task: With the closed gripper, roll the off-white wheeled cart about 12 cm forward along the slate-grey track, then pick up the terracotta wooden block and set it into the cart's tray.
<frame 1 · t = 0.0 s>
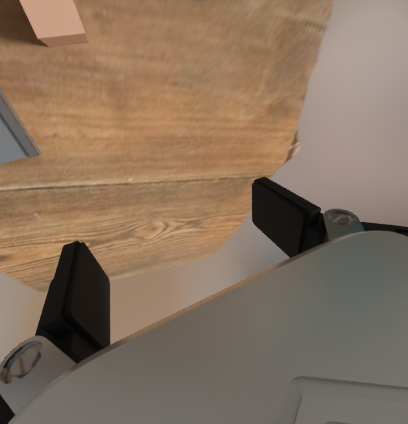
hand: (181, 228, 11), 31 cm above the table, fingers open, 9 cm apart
block: (59, 20, 26), on the table
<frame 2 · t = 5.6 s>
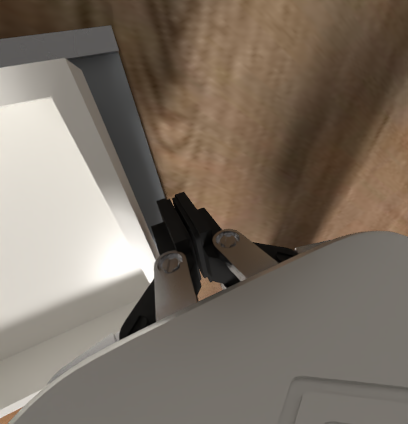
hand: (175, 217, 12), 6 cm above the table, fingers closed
cart: (4, 264, 11), point 5 cm above the table, slide at 0.8 cm, touching gripper
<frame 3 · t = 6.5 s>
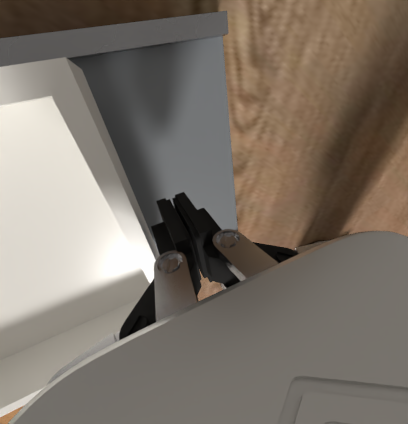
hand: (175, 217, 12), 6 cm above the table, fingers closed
cart: (4, 264, 11), point 5 cm above the table, slide at 7.4 cm, touching gripper
track: (36, 219, 15), on the table
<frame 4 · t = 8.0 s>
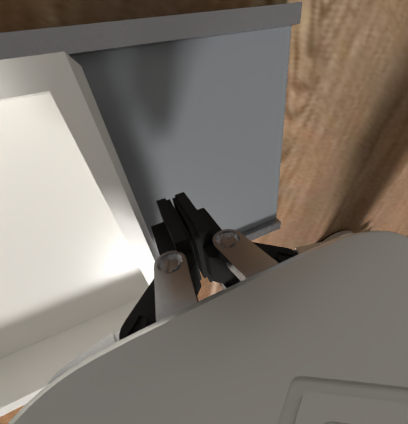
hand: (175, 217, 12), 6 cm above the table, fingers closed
track: (107, 195, 16), on the table
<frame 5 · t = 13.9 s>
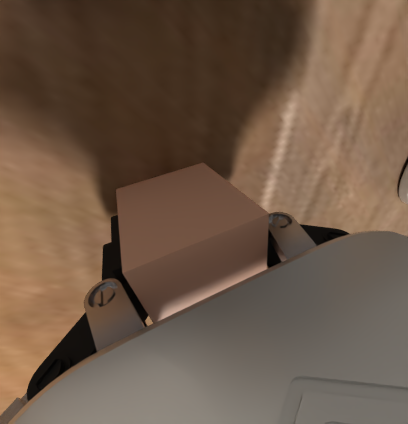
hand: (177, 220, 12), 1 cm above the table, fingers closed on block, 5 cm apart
block: (172, 211, 12), on the table, touching gripper
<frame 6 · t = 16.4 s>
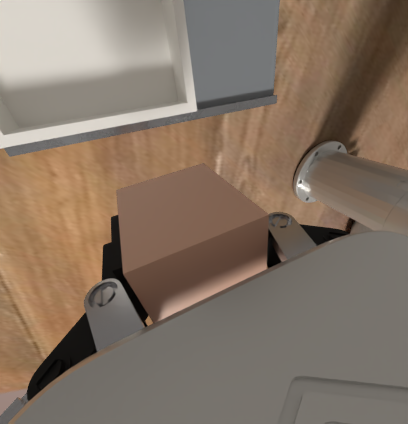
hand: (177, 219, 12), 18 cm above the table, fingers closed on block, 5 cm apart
cart: (69, 9, 15), point 5 cm above the table, slide at 12.7 cm
track: (139, 21, 20), on the table
block: (173, 212, 12), point 17 cm above the table, touching gripper
when the fingers open (7 cm above the table, at t = 19.4 s): block drops 1 cm, resting on cart.
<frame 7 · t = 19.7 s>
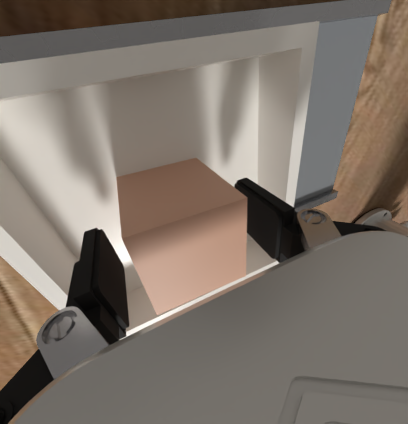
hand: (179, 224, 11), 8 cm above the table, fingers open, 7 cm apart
cart: (170, 197, 14), point 5 cm above the table, slide at 12.7 cm, touching block
track: (215, 157, 19), on the table
block: (166, 201, 14), point 5 cm above the table, touching cart
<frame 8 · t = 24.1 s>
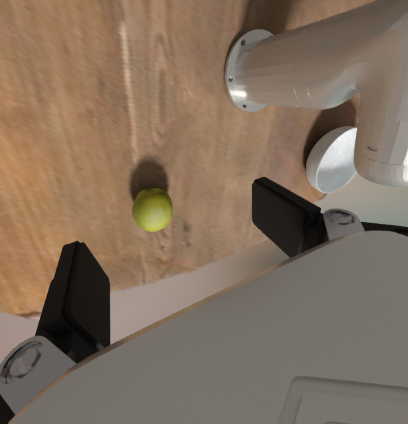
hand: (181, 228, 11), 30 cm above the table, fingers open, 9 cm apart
apple: (149, 201, 43), on the table
cereal bowl: (319, 155, 56), on the table
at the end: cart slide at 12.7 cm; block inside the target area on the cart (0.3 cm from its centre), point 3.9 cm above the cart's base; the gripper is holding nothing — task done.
